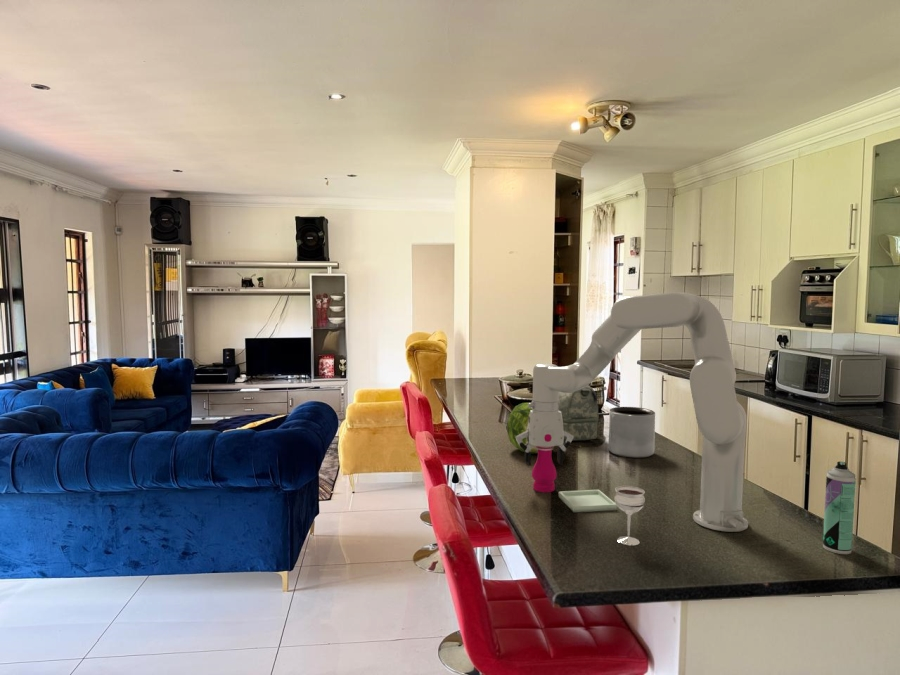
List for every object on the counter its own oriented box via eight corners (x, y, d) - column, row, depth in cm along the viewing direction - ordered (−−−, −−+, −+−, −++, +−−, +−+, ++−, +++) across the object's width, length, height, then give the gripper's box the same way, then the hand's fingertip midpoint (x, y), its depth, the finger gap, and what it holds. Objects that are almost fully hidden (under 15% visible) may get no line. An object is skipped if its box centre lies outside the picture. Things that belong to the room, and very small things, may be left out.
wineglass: (609, 535, 140) (610, 485, 139) (636, 534, 141) (638, 485, 140) (619, 547, 134) (620, 495, 133) (648, 546, 134) (650, 495, 133)
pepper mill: (556, 494, 169) (557, 425, 168) (530, 492, 170) (531, 424, 169) (556, 486, 176) (557, 420, 175) (532, 484, 178) (533, 418, 176)
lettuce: (519, 464, 200) (530, 414, 197) (496, 438, 222) (506, 393, 219) (569, 468, 206) (581, 419, 203) (543, 442, 228) (552, 398, 225)
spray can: (840, 543, 136) (845, 458, 135) (857, 554, 131) (862, 465, 129) (817, 544, 136) (821, 459, 135) (833, 554, 131) (838, 466, 129)
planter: (616, 459, 205) (617, 415, 204) (602, 447, 221) (603, 406, 220) (661, 459, 206) (662, 415, 205) (644, 447, 222) (646, 406, 221)
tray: (616, 509, 157) (617, 504, 157) (574, 512, 155) (574, 506, 155) (598, 494, 169) (598, 489, 168) (558, 496, 167) (558, 491, 167)
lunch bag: (605, 440, 232) (606, 385, 231) (565, 444, 226) (566, 387, 224) (569, 426, 257) (570, 376, 255) (532, 429, 250) (533, 378, 249)
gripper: (520, 409, 166) (519, 469, 168) (578, 408, 169) (577, 466, 170) (513, 404, 174) (512, 461, 175) (569, 403, 177) (567, 459, 178)
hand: (544, 464), depth 173 cm, fingers open, 9 cm apart
